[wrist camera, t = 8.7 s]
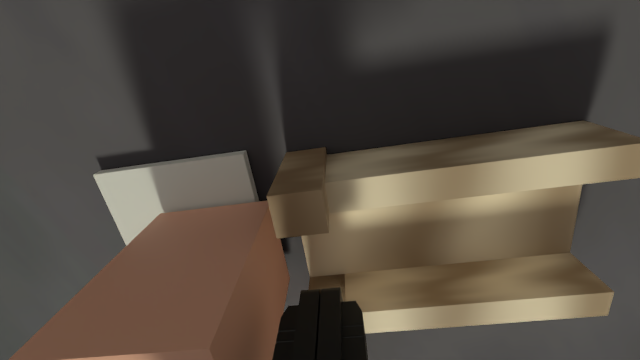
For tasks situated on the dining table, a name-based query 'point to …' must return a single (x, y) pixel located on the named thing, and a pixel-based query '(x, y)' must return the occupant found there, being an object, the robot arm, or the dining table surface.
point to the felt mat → (174, 188)
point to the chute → (453, 224)
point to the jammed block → (179, 293)
